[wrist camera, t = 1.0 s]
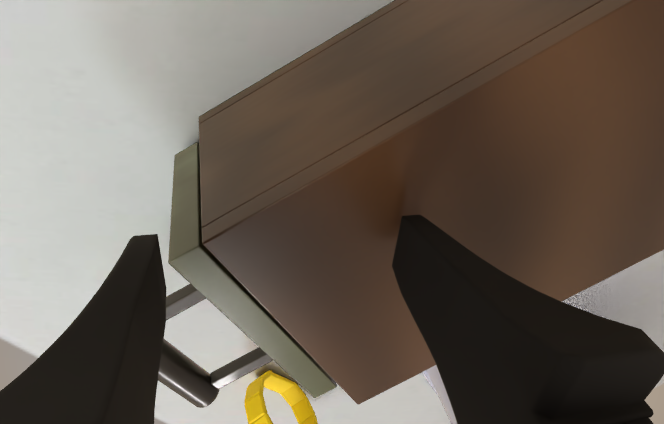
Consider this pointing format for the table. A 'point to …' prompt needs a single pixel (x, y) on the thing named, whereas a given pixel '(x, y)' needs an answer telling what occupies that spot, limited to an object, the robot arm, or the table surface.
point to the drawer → (221, 305)
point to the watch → (288, 389)
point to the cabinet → (438, 165)
